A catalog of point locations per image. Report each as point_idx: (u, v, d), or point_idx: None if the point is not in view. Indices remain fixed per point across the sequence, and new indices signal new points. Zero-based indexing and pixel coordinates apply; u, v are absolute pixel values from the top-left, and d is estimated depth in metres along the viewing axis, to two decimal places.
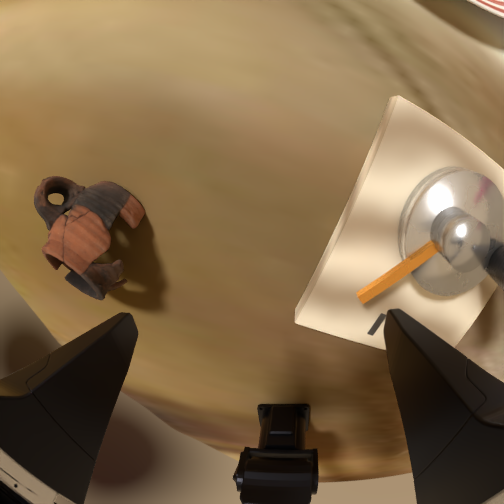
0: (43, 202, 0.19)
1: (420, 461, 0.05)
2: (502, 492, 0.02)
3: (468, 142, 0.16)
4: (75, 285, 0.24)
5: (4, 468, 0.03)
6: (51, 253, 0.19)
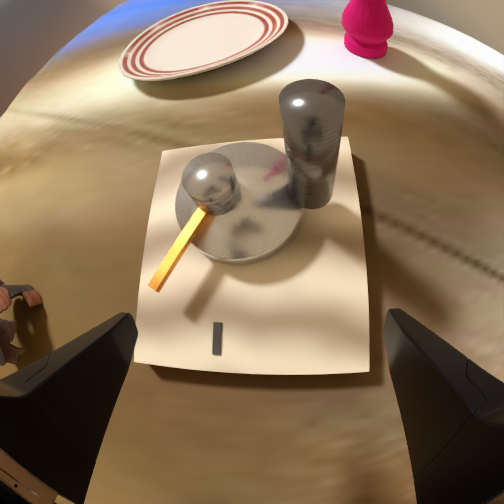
0: None
1: (420, 461, 0.05)
2: (502, 492, 0.02)
3: (227, 143, 0.26)
4: None
5: (4, 468, 0.03)
6: None
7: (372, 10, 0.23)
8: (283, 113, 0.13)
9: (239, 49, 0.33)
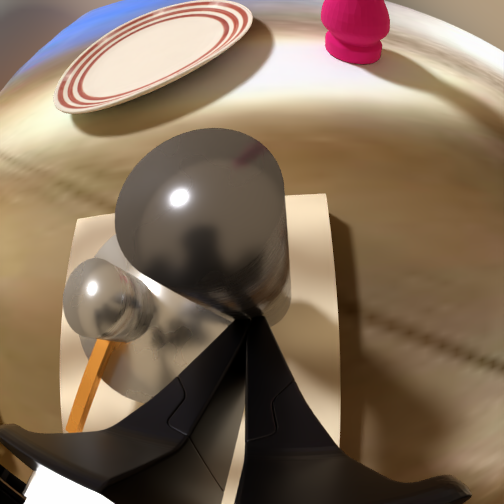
0: None
1: None
2: None
3: None
4: None
5: None
6: None
7: None
8: (125, 251, 0.05)
9: (188, 61, 0.26)
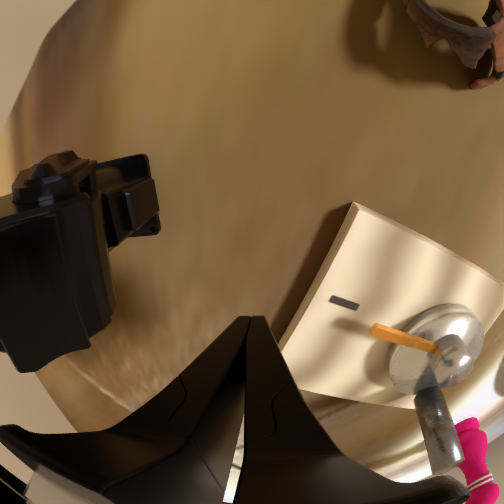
0: None
1: None
2: None
3: None
4: None
5: None
6: None
7: (467, 462, 0.26)
8: (446, 461, 0.15)
9: None
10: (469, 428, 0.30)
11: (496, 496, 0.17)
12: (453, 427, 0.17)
